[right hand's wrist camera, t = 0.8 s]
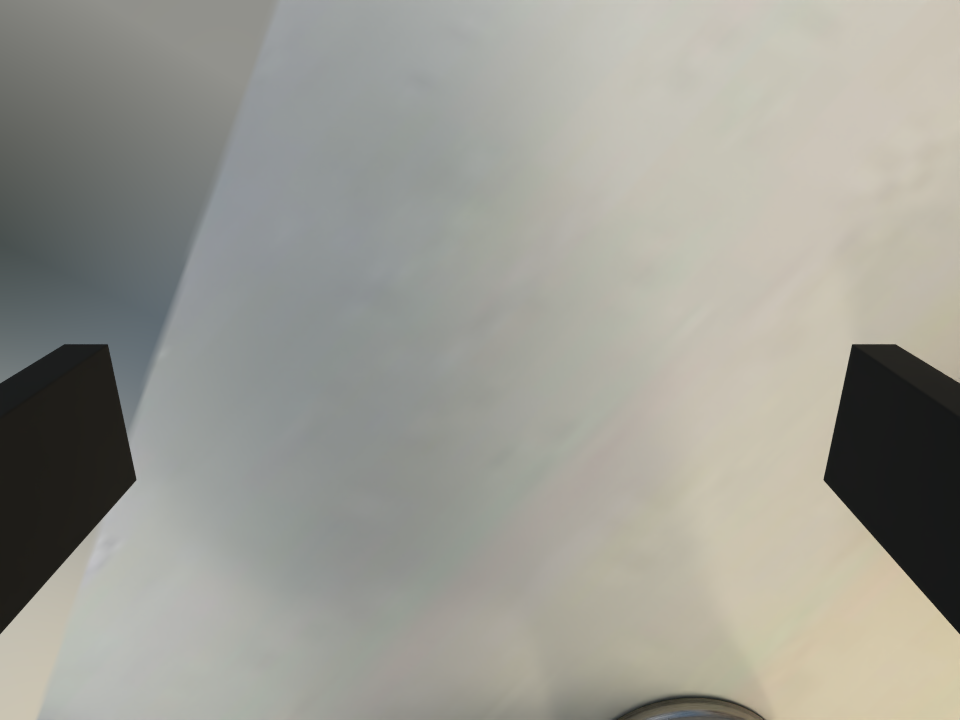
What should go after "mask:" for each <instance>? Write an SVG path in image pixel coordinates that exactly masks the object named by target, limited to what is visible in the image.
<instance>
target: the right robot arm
mask: <svg viewBox="0 0 960 720" xmlns="http://www.w3.org/2000/svg"><path fill="white" fill-rule="evenodd" d="M135 481H136V475H135V471H134V466H133V461H132V457H131V452H130V447H129V442H128V438H127V433H126V428H125V423H124V419H123V414H122V409H121V405H120V400H119V395H118V390H117V386H116V381H115V376H114V372H113V367H112V362H111V357H110V353H109V348H108V345H107V344H64V345H63V346H61V347H59V348H58V349H56V350H54V351H53V352H51V353H49V354H48V355H46V356H45V357H43V358H41V359H40V360H38V361H36V362H35V363H33V364H31V365H30V366H28V367H27V368H25V369H23V370H22V371H20V372H18V373H17V374H15V375H13V376H12V377H10V378H8V379H7V380H5V381H4V382H2V383H0V634H1V633H2V632H3V630H4V629H5V628H6V627H7V626H8V625H9V624H10V623H11V621H12V620H13V619H14V618H15V617H16V616H17V614H18V613H19V612H20V611H21V610H22V609H23V608H24V607H25V606H26V604H27V603H28V602H29V601H30V600H31V599H32V598H33V596H34V595H35V594H36V593H37V592H38V591H39V590H40V589H41V587H42V586H43V585H44V584H45V583H46V582H47V581H48V580H49V578H50V577H51V576H52V575H53V574H54V573H55V572H56V570H57V569H58V568H59V567H60V566H61V565H62V564H63V563H64V561H65V560H66V559H67V558H68V557H69V556H70V555H71V553H72V552H73V551H74V550H75V549H76V548H77V547H78V546H79V544H80V543H81V542H82V541H83V540H84V539H85V538H86V536H87V535H88V534H89V533H90V532H91V531H92V530H93V529H94V527H95V526H96V525H97V524H98V523H99V522H100V521H101V520H102V518H103V517H104V516H105V515H106V514H107V513H108V512H109V510H110V509H111V508H112V507H113V506H114V505H115V504H116V503H117V501H118V500H119V499H120V498H121V497H122V496H123V495H124V494H125V492H126V491H127V490H128V489H129V488H130V487H131V486H132V484H133V483H134V482H135ZM824 481H825V482H826V483H827V484H828V486H829V487H830V488H831V489H832V490H833V491H834V492H835V494H836V495H837V496H838V497H839V498H840V499H841V500H842V501H843V503H844V504H845V505H846V506H847V507H848V508H849V509H850V510H851V512H852V513H853V514H854V515H855V516H856V517H857V518H858V520H859V521H860V522H861V523H862V524H863V525H864V526H865V527H866V529H867V530H868V531H869V532H870V533H871V534H872V535H873V537H874V538H875V539H876V540H877V541H878V542H879V543H880V544H881V546H882V547H883V548H884V549H885V550H886V551H887V552H888V553H889V555H890V556H891V557H892V558H893V559H894V560H895V561H896V563H897V564H898V565H899V566H900V567H901V568H902V569H903V570H904V572H905V573H906V574H907V575H908V576H909V577H910V578H911V580H912V581H913V582H914V583H915V584H916V585H917V586H918V587H919V589H920V590H921V591H922V592H923V593H924V594H925V595H926V596H927V598H928V599H929V600H930V601H931V602H932V603H933V604H934V606H935V607H936V608H937V609H938V610H939V611H940V612H941V613H942V615H943V616H944V617H945V618H946V619H947V620H948V621H949V623H950V624H951V625H952V626H953V627H954V628H955V629H956V630H957V632H958V633H959V634H960V383H958V382H956V381H955V380H953V379H952V378H950V377H948V376H947V375H945V374H943V373H942V372H940V371H938V370H937V369H935V368H934V367H932V366H930V365H929V364H927V363H925V362H924V361H922V360H920V359H919V358H917V357H915V356H914V355H912V354H911V353H909V352H907V351H906V350H904V349H902V348H901V347H899V346H897V345H896V344H852V348H851V352H850V357H849V362H848V367H847V371H846V376H845V381H844V386H843V390H842V395H841V400H840V405H839V409H838V414H837V419H836V423H835V428H834V433H833V438H832V442H831V447H830V452H829V457H828V461H827V466H826V471H825V475H824ZM617 720H763V719H762V718H761V717H760V716H758V715H757V714H755V713H753V712H752V711H750V710H748V709H746V708H743V707H741V706H738V705H736V704H732V703H729V702H725V701H720V700H715V699H707V698H681V699H672V700H666V701H661V702H657V703H653V704H650V705H647V706H644V707H641V708H639V709H636V710H634V711H632V712H630V713H628V714H626V715H624V716H622V717H621V718H619V719H617Z"/></svg>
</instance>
